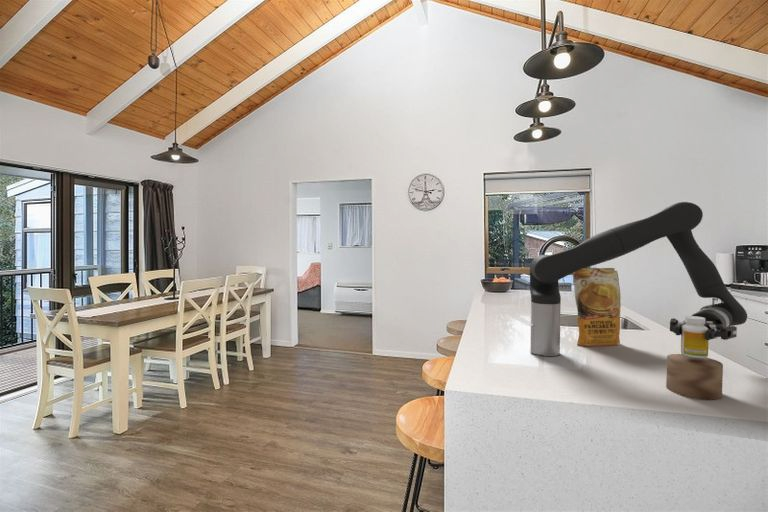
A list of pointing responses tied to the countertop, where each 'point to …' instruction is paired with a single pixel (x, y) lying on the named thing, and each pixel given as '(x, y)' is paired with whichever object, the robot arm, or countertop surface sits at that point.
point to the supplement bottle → (694, 337)
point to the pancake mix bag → (597, 306)
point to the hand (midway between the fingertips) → (692, 333)
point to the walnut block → (694, 377)
